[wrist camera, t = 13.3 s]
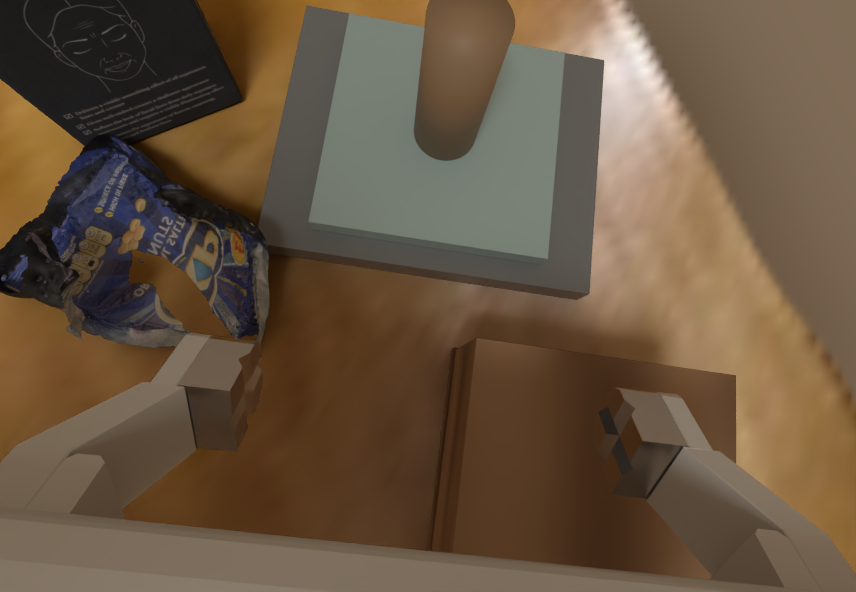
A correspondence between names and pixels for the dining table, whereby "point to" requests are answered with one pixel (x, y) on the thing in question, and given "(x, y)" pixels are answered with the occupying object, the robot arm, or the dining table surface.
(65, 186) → the snack package
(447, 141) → the lid
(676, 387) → the tea box
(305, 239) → the gray rectangular tray
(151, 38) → the box
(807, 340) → the dining table surface
